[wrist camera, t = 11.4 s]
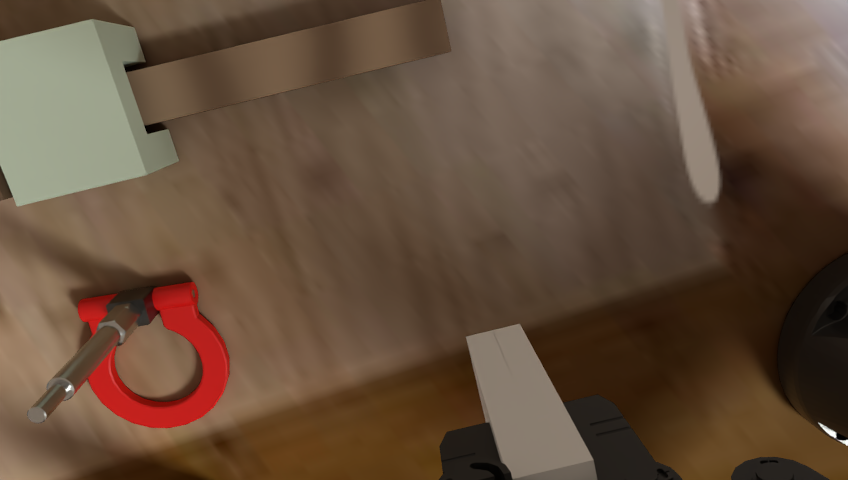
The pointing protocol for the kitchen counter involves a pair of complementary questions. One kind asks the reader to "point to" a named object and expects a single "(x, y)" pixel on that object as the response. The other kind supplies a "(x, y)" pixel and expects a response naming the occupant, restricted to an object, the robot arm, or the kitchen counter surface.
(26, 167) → the slider
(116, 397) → the tow hook
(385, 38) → the rail
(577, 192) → the kitchen counter surface
